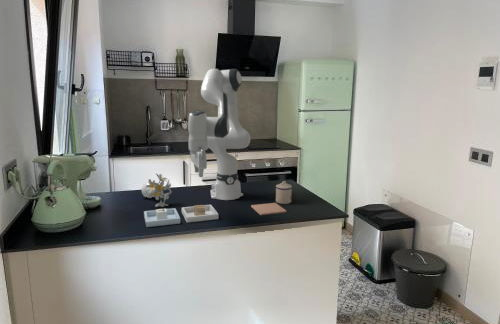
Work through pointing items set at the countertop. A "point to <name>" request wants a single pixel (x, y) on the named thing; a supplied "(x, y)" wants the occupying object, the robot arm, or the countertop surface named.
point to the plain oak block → (199, 210)
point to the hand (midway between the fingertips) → (198, 174)
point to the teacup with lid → (283, 193)
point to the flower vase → (156, 190)
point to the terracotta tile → (268, 208)
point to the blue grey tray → (171, 219)
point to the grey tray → (190, 217)
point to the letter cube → (161, 214)
